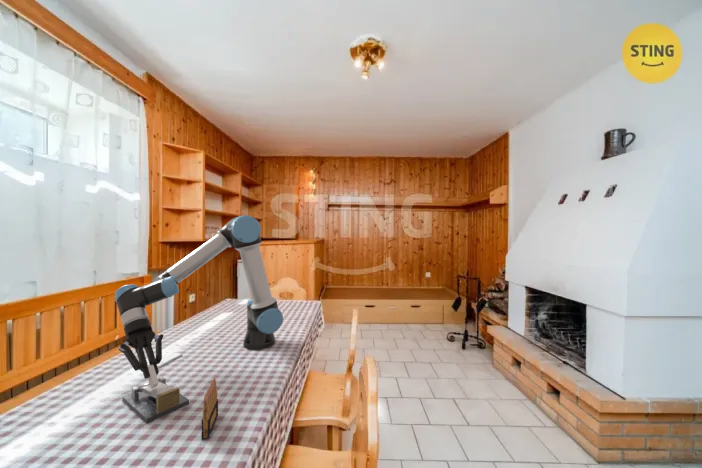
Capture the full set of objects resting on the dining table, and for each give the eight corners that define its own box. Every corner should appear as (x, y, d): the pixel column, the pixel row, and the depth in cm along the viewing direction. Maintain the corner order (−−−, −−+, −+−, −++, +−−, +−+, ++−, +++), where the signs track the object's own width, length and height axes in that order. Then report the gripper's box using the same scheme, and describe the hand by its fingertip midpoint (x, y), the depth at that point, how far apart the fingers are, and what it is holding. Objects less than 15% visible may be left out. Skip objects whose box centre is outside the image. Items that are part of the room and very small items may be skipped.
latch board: (122, 401, 96) (122, 381, 96) (162, 385, 106) (162, 367, 106) (146, 424, 85) (146, 401, 85) (189, 404, 95) (189, 384, 95)
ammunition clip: (211, 415, 89) (211, 376, 89) (218, 414, 89) (218, 375, 89) (201, 439, 78) (201, 395, 78) (208, 438, 79) (208, 394, 79)
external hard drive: (181, 357, 132) (158, 369, 120) (166, 355, 134) (141, 367, 121) (181, 353, 132) (158, 365, 120) (166, 352, 134) (142, 363, 121)
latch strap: (137, 386, 97) (155, 394, 89) (157, 378, 101) (176, 386, 93) (137, 392, 96) (155, 401, 88) (158, 384, 101) (176, 392, 93)
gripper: (154, 325, 110) (172, 383, 100) (111, 334, 100) (127, 400, 90) (160, 313, 107) (180, 372, 97) (116, 321, 97) (134, 388, 87)
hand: (154, 385), depth 94 cm, fingers closed
